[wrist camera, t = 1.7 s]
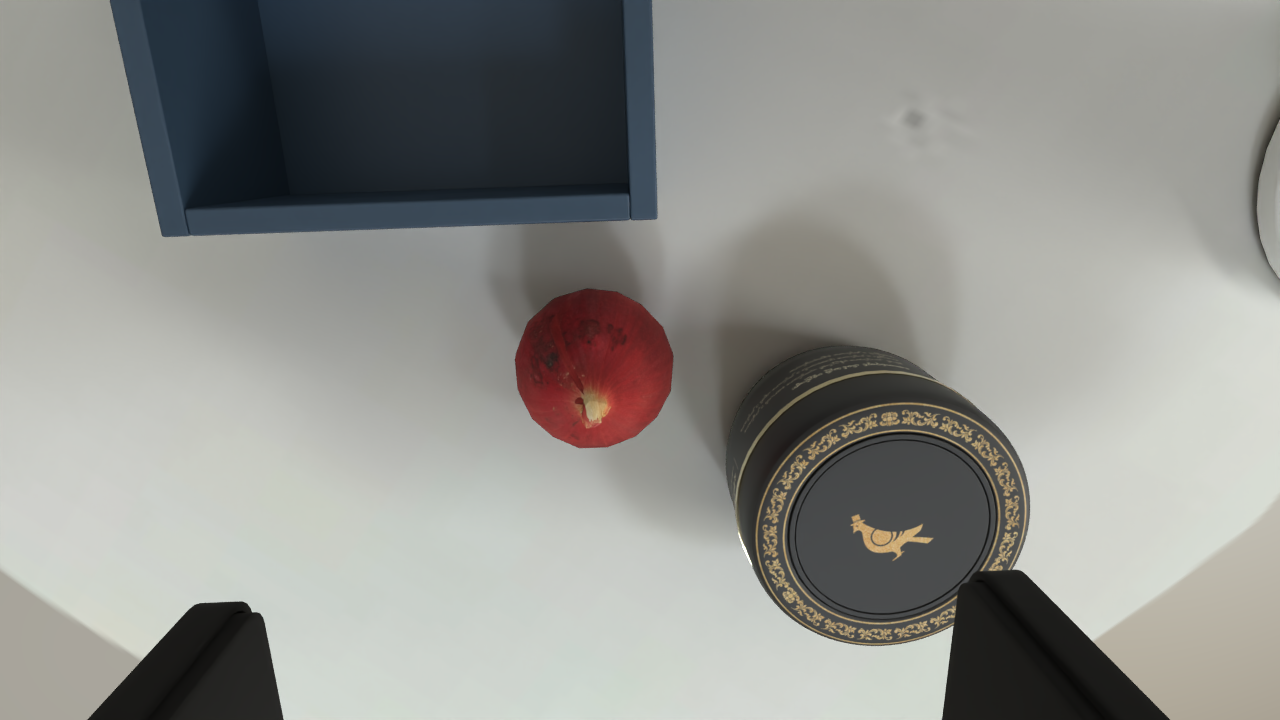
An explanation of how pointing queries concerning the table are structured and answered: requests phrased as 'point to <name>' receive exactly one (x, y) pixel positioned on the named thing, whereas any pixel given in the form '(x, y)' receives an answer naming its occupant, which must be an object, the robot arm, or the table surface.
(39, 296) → the table surface
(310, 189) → the bin
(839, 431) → the jar
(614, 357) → the pomegranate
